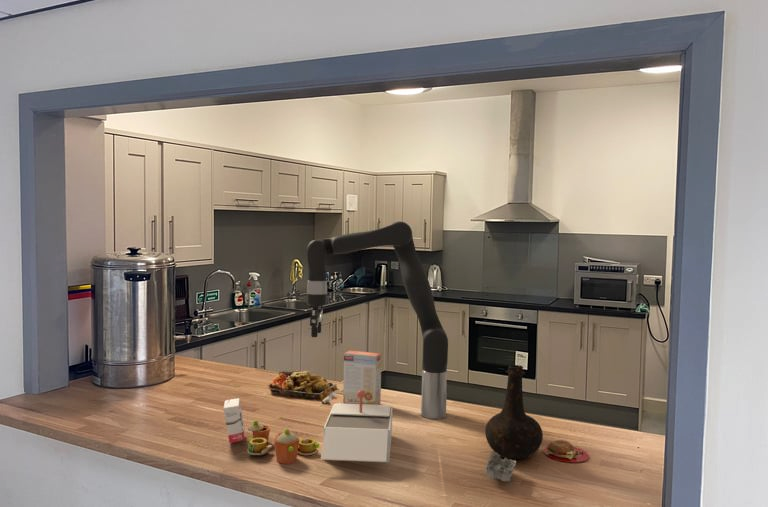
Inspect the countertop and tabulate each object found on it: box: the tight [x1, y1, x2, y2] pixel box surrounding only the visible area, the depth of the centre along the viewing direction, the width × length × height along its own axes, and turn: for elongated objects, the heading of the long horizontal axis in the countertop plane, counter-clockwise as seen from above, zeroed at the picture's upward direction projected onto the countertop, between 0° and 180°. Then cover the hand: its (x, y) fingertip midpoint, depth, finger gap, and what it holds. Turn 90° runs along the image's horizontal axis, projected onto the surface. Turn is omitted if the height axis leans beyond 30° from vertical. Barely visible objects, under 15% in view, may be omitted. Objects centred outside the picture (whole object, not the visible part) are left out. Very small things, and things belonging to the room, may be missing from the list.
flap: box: [330, 390, 392, 417], centre depth 184 cm, size 19×10×8 cm, turn 87°
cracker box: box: [342, 350, 382, 405], centre depth 222 cm, size 14×6×21 cm, turn 68°
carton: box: [320, 404, 393, 464], centre depth 175 cm, size 20×31×10 cm, turn 177°
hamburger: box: [542, 439, 590, 463], centre depth 178 cm, size 14×14×6 cm
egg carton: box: [485, 450, 517, 482], centre depth 160 cm, size 11×8×4 cm
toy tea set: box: [247, 419, 320, 465], centre depth 175 cm, size 26×16×10 cm, turn 62°
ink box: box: [223, 398, 246, 444], centre depth 184 cm, size 8×5×12 cm, turn 13°
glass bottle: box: [484, 364, 544, 460], centre depth 176 cm, size 18×18×28 cm
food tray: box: [259, 370, 344, 404], centre depth 238 cm, size 35×26×11 cm
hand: (316, 334), depth 212 cm, fingers open, 8 cm apart
